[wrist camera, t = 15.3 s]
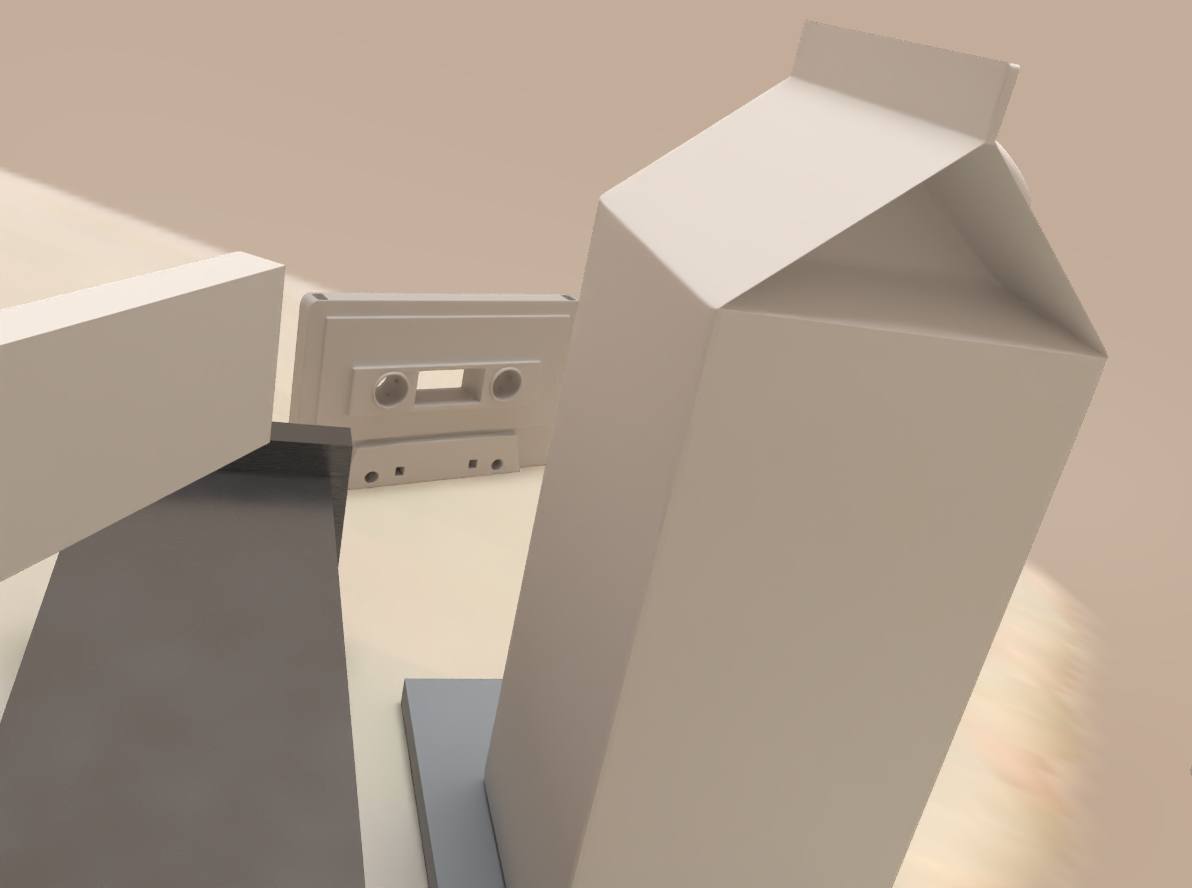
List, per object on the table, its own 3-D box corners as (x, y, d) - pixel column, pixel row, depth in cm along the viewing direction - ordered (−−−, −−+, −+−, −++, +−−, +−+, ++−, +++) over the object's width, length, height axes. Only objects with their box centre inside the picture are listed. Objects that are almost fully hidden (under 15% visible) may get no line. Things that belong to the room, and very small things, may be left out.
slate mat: (400, 701, 31) (404, 678, 31) (748, 700, 34) (755, 680, 34) (478, 1213, 19) (485, 1184, 18) (1003, 1133, 22) (1017, 1108, 22)
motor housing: (74, 630, 31) (76, 406, 28) (325, 634, 33) (350, 427, 30) (-304, 1945, 11) (-418, 1610, 8) (391, 1737, 13) (481, 1420, 10)
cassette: (293, 499, 41) (313, 305, 38) (276, 476, 42) (294, 287, 39) (558, 470, 48) (592, 304, 45) (536, 452, 49) (568, 290, 46)
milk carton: (532, 1027, 21) (787, 13, 14) (480, 777, 28) (638, -18, 20) (849, 1001, 23) (1216, 108, 16) (735, 774, 30) (963, 54, 22)
